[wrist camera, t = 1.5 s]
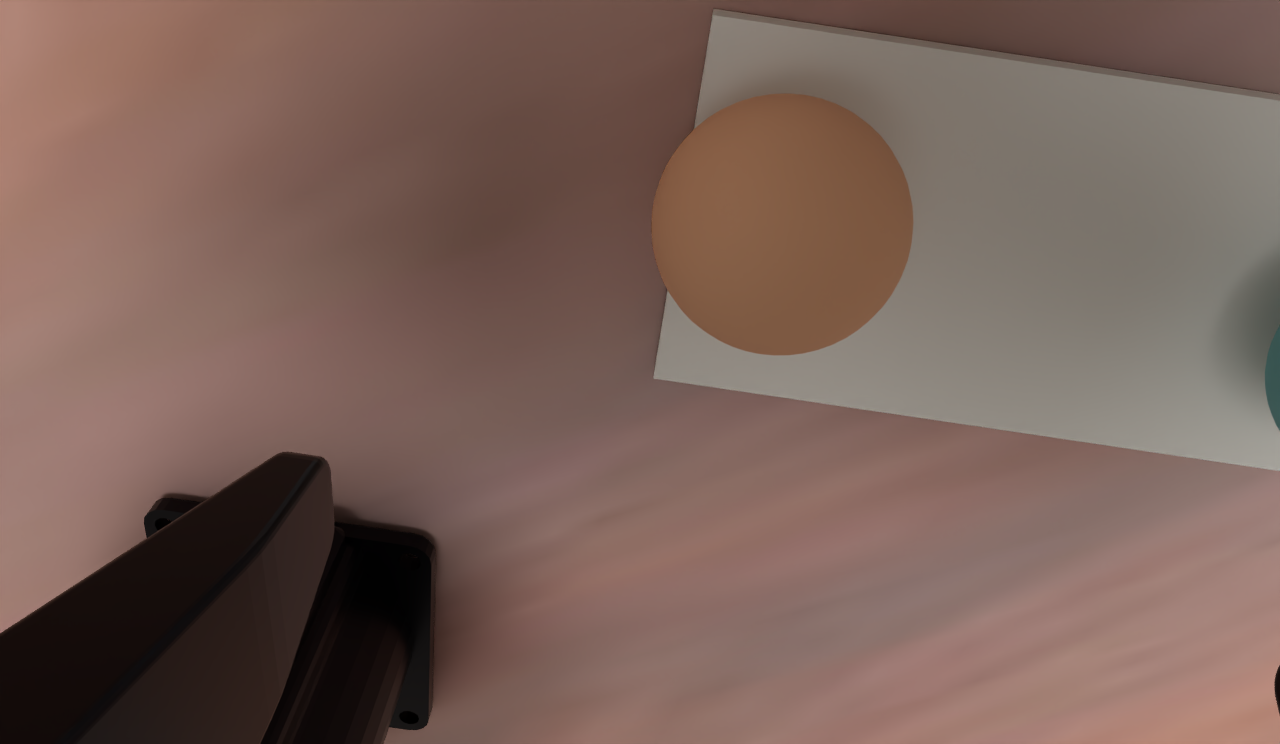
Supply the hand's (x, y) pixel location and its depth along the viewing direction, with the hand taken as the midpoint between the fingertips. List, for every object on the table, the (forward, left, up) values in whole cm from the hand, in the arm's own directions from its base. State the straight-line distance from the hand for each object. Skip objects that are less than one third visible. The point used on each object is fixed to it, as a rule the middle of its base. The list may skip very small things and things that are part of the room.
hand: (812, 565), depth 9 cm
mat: (-1, -6, -10) cm, 12 cm away
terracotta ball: (0, 0, -8) cm, 8 cm away
